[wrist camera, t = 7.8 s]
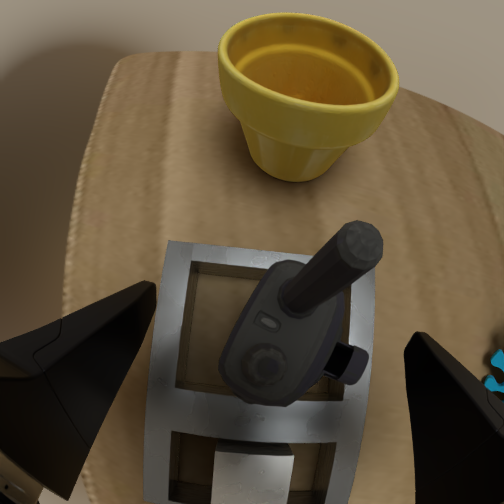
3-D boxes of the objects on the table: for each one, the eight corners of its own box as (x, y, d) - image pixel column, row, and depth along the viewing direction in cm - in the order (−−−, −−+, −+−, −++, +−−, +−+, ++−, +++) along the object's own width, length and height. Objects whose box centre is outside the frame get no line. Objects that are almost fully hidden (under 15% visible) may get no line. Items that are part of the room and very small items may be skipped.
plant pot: (197, 167, 21) (176, 64, 12) (261, 90, 24) (269, -1, 15) (324, 231, 20) (381, 145, 11) (366, 137, 23) (410, 53, 14)
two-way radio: (260, 288, 19) (320, 117, 4) (322, 319, 18) (512, 241, 4) (219, 365, 17) (137, 444, 3) (282, 396, 17) (408, 530, 2)
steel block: (276, 484, 15) (284, 513, 11) (216, 480, 15) (210, 509, 11) (283, 434, 16) (294, 455, 12) (220, 430, 16) (215, 451, 12)
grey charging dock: (331, 494, 14) (344, 513, 12) (155, 481, 14) (143, 500, 11) (356, 274, 19) (374, 262, 16) (178, 255, 19) (168, 240, 16)
